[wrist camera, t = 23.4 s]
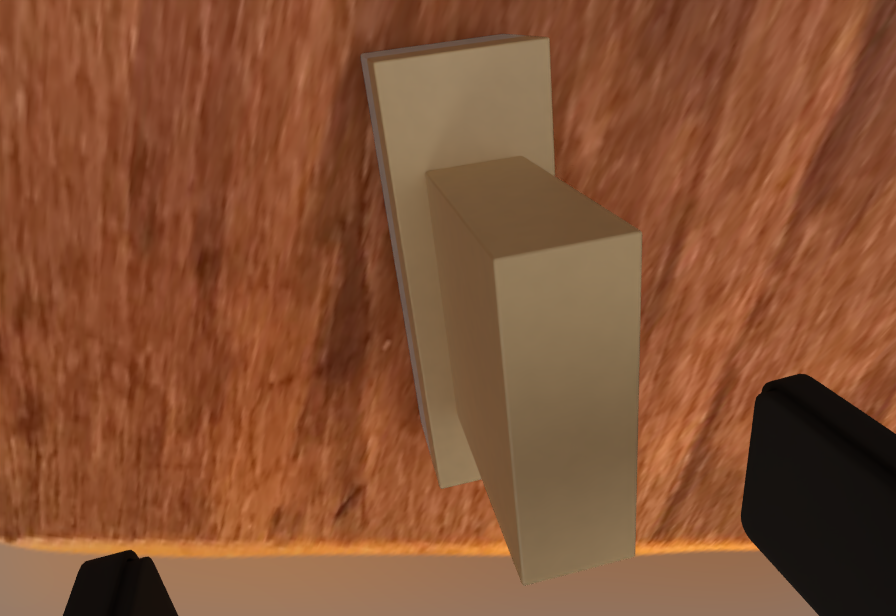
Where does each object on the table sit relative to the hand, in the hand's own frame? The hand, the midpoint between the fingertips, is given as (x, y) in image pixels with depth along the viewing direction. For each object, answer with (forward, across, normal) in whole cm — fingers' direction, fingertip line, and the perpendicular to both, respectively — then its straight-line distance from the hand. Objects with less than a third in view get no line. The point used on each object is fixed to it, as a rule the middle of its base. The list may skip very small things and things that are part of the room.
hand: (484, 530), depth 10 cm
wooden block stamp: (+11, -2, 0) cm, 11 cm away
